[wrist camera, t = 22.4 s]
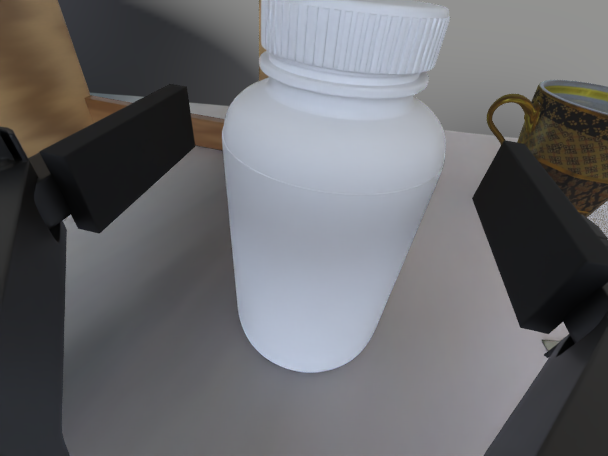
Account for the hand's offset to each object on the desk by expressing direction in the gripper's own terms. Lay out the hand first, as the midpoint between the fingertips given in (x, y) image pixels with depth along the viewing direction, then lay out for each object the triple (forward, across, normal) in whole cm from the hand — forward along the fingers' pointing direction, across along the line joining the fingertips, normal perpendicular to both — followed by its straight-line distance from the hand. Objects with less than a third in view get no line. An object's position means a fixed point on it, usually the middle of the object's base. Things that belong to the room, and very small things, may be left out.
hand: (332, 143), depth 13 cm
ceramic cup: (+15, +18, -10) cm, 25 cm away
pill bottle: (-2, 0, -10) cm, 10 cm away
